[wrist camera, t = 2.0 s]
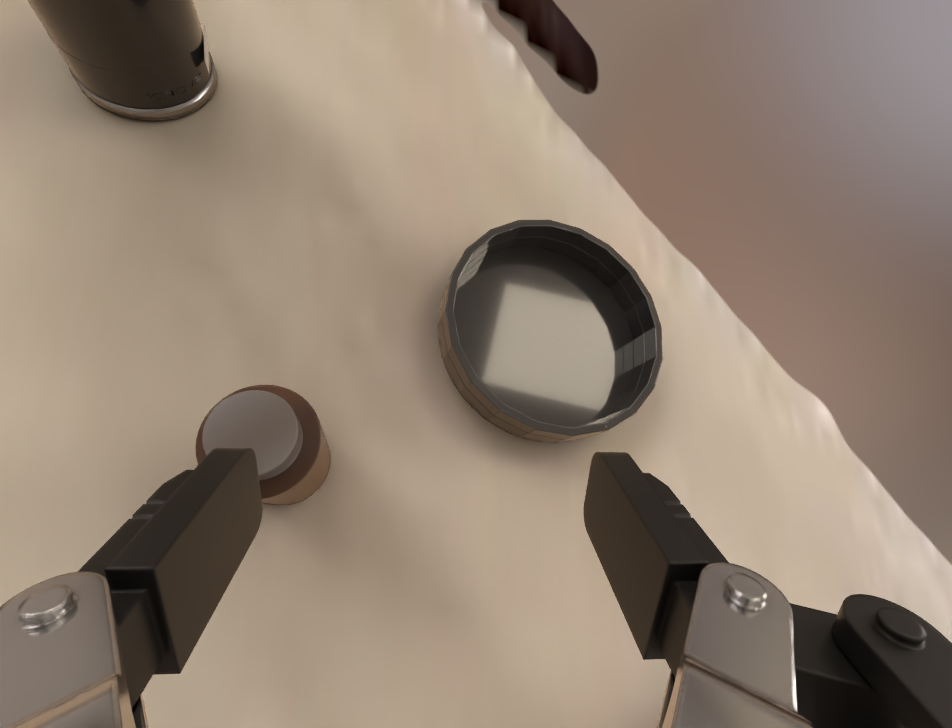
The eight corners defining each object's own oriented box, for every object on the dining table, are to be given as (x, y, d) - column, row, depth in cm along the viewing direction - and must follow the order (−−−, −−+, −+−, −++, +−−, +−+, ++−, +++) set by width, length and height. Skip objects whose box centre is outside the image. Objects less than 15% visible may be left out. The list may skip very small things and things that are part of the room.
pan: (390, 326, 33) (394, 305, 30) (531, 211, 40) (546, 184, 37) (556, 491, 32) (578, 489, 29) (670, 345, 39) (698, 329, 36)
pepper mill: (223, 462, 27) (147, 431, 17) (293, 405, 29) (261, 348, 19) (281, 523, 27) (239, 527, 17) (347, 461, 29) (344, 432, 19)
